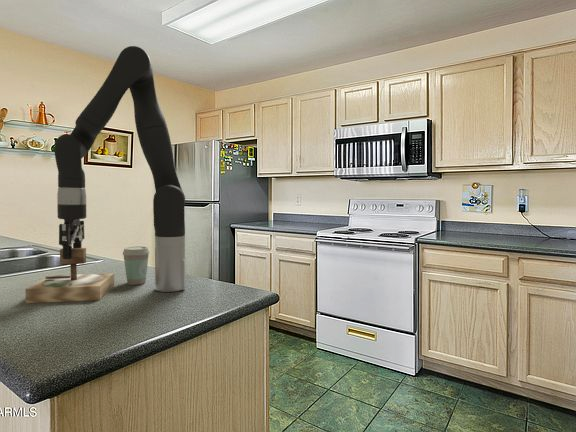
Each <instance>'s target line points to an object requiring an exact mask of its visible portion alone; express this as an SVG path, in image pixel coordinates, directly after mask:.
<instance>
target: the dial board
mask: <svg viewBox="0 0 576 432" xmlns="http://www.w3.org/2000/svg"><path fill="white" fill-rule="evenodd" d="M49 276H71V274H51V275H49ZM114 286H115V273H79V274H78V273H77V279H76V280H71V278H61V279H45V278H43V279H41V280H39V281H37V282H35V283H33V284H31V285H30V286H28V287H26V288H25V303H26V304H33V303H34V304H36V303H55V302H56V303H57V302H59V303H60V302H80V301H82V302H83V301H84V302H85V301H101V300H102V299H103V298H104V297H105V296H106V295H107V293H108V292H109V291H111V289H112V288H114Z"/></svg>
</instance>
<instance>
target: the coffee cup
mask: <svg viewBox="0 0 576 432" xmlns="http://www.w3.org/2000/svg"><path fill="white" fill-rule="evenodd" d="M122 255H123V260H124V261H123V262H124V267H125V268H124V269H125V270H124V271H125V276H126V282H127V285H130V286H131V285H135V286H137V285H144V284H146V282H147V273H148V263H149V255H150V250H149V247H148V246H128V247H125V248H123V251H122Z"/></svg>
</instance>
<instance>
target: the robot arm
mask: <svg viewBox="0 0 576 432" xmlns="http://www.w3.org/2000/svg"><path fill="white" fill-rule="evenodd" d="M128 90H129V92H130V94H131V98H132V102H133V110H134V112H133V113H134V123H135V128H136V133H137V137H138V141H139V144H140V148H141V150H142V154H143V156H144V158H145V160H146V163H147V165H148V166H149V170H150V172H151V174H152V178H153V182H154V183H153V184H154V189H155V190H154V191H155V193H154V195H153V201H152V202H153V203H152V204H153V205H152V206H153V207H152V210H153V228H154V263H155V265H154V270H155V271H154V278H155V279H154V280H155V281H154V284H155V291H157V292H164V293H170V292H178V291H185V290H186V284H187V283H186V282H187V281H186V280H187V279H186V278H187V276H186V274H187V273H186V271H187V269H186V266H187V265H186V262H187V261H186V260H187V259H186V223H185V213H186V211H185V203H186V195H185V193H184V192H183V189H182V186H181V184H180V180H179V177H178V174H177V172H176V168H175V167H176V166H175V161H174V153H173V147H172V142H171V137H170V133H169V129H168V125H167V121H166V118H165V116H164V113H163V110H162V107H161V105H160V103H159V101H158V96H157V91H156V85H155V80H154V69H153V65H152V61H151V58H150V56H149V54H148V53H147V52H146V51H145V49H143V48H141V47H139V46H136V45H130V46H127V47H125V48H124V49H123V50H122V49H121V51H120V53H119V54H118V57H117V59H116V61H115V62H114V64H113V67H112V68H111V70H110V71H109V73H108V75H107V77H106V79H105V80H104V81H103V83H102V84H101V86H100V88H99V89H98V91H97V92H96V94H94V96H93V97H92V99H91V100H90V101H89V102H88V104H87V105H86V106H85V108H84V109H83V110H82V112H80V113H79V115H78V117H76V119H75V121H74V122H75V126H74V128H73V130H72V132H71V133H67V134H65V133H64V134H62V135H59V136H58V137H57V138H56V140H55V142H54V147H53V148H54V158H55V162H56V167H57V172H58V173H57V174H58V175H57V185H58V186H57V194H56V195H57V197H56V199H57V204H56V205H57V207H56V208H57V211H56V212H57V219H59V220H64V221H63V223H59V225H58V244H59V246H61V247H62V249H63V259H71V258H72V248H83V247H82V246H83V245H82V242H83V240H85V222H84V220H85V219H86V218H87V193H86V173H85V171H84V169H83V166H82V165H83V164H82V159H83V158H84V157H85V156H86V155H88V153H89V151H90V150H91V148H92V146H93V145H94V143H95V141H96V139H97V137H98V136H99V134H100V133H101V132H102V131H103V130H104V128H105V127H106V126H107V124H108V123H109V122H110V120H111V119H112V117H113V115H114V114H115V112H116V110H117V108H118V106H119V104H120V102H121V101H122V98H123V96H124V95H125V94H126V92H127V91H128Z"/></svg>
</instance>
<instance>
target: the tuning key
mask: <svg viewBox="0 0 576 432" xmlns="http://www.w3.org/2000/svg"><path fill="white" fill-rule="evenodd" d="M59 259H60V260H59V262H60V263H59V264H60V265H70V267H69V268H70V275H71V276H50V275H49V276H45V278H44V279H61V278H71V280H76V279H77V274H78V273H77V272H78V270H77V267H78V266H77V265H80V264H81V265H83V264H85V263H87V247H82V248H73V247H72V258H71V259H63V248H60V249H59Z"/></svg>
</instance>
